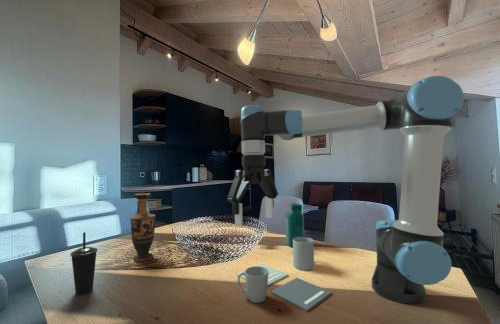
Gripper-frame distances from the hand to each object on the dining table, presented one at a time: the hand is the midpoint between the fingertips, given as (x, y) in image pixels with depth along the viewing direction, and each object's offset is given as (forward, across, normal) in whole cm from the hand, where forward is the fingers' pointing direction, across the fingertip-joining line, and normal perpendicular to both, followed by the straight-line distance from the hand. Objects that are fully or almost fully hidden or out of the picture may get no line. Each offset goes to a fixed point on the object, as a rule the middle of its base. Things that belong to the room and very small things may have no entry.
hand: (255, 221), depth 76 cm
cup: (+24, 0, -1) cm, 25 cm away
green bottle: (+25, -51, -23) cm, 61 cm away
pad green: (+24, -12, -10) cm, 29 cm away
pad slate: (+24, -12, +8) cm, 28 cm away
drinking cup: (+24, +39, -44) cm, 64 cm away
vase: (+24, +14, -61) cm, 67 cm away
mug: (+25, -32, -5) cm, 41 cm away
